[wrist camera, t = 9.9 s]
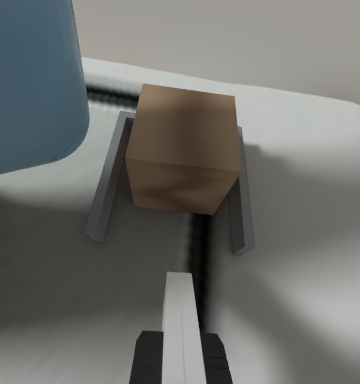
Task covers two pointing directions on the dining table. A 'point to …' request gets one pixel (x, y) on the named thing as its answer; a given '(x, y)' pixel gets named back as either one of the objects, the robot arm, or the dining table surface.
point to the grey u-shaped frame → (110, 178)
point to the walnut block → (183, 150)
